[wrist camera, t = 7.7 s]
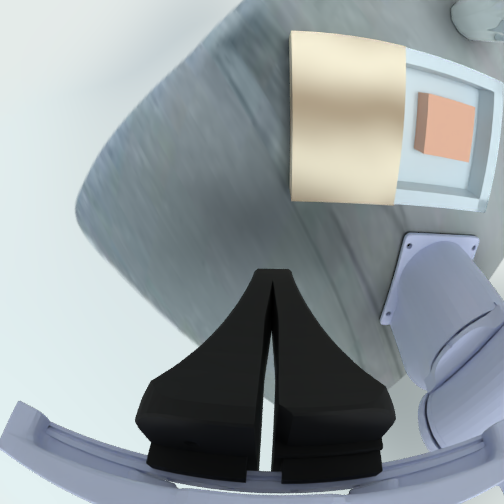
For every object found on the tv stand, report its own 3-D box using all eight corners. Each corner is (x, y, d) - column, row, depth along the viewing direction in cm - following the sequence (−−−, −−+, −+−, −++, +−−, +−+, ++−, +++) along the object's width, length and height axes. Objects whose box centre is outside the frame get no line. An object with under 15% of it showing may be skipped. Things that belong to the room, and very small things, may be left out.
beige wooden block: (381, 191, 18) (393, 205, 16) (289, 187, 19) (291, 201, 17) (390, 50, 13) (405, 46, 11) (288, 38, 14) (291, 30, 12)
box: (470, 200, 18) (485, 212, 16) (381, 191, 18) (391, 203, 17) (486, 80, 13) (503, 83, 11) (390, 50, 13) (403, 46, 11)
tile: (423, 153, 15) (413, 148, 16) (468, 162, 15) (457, 156, 16) (428, 93, 13) (418, 92, 14) (475, 107, 13) (463, 104, 14)
